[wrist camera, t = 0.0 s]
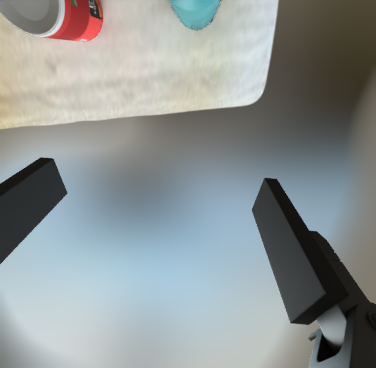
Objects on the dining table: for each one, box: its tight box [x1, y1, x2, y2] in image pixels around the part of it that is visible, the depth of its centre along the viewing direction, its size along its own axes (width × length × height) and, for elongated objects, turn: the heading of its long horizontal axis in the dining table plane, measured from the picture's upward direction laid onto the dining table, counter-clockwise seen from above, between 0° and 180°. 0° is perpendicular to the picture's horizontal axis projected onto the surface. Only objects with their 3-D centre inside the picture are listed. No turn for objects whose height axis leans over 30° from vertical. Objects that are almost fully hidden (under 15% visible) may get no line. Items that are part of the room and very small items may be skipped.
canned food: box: [0, 0, 103, 42], centre depth 23 cm, size 8×8×11 cm
